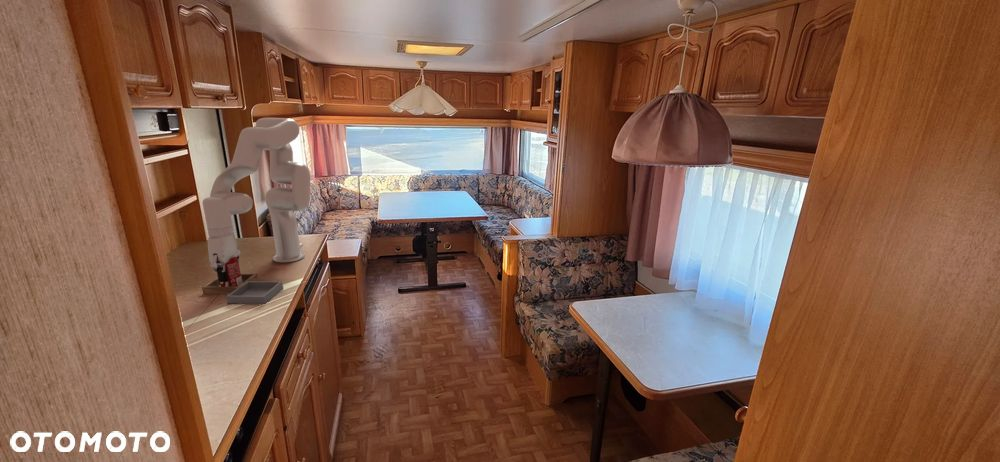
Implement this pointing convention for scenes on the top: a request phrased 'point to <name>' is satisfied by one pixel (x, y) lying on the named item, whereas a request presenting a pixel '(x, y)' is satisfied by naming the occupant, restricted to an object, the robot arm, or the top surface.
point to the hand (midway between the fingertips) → (229, 277)
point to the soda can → (232, 273)
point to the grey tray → (254, 293)
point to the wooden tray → (213, 289)
